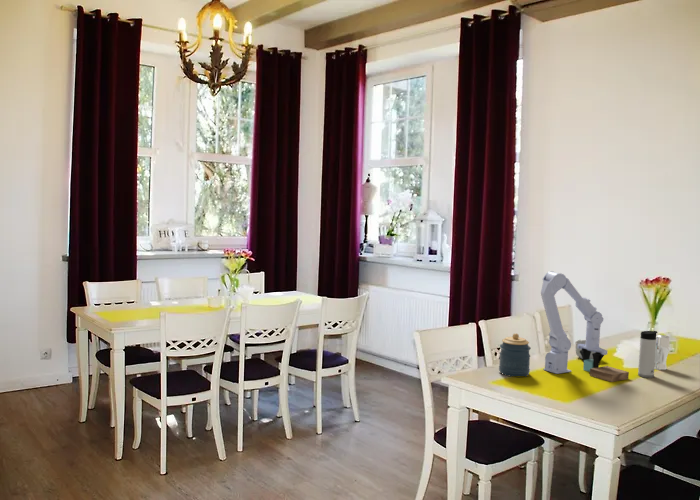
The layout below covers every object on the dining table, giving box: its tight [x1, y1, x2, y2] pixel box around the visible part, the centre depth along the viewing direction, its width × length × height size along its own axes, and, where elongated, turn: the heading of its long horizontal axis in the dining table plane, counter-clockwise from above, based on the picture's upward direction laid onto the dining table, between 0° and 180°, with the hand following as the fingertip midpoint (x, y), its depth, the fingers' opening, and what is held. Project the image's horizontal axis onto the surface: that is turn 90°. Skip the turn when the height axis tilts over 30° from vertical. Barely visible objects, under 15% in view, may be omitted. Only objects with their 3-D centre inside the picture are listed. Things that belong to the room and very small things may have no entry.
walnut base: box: [589, 365, 630, 383], centre depth 275 cm, size 11×11×3 cm
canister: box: [498, 333, 531, 377], centre depth 276 cm, size 13×13×18 cm
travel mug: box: [637, 330, 658, 379], centre depth 277 cm, size 6×7×20 cm
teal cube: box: [582, 359, 594, 373], centre depth 285 cm, size 4×4×4 cm
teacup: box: [575, 339, 596, 360], centre depth 310 cm, size 14×11×8 cm
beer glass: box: [654, 334, 670, 371], centre depth 292 cm, size 7×7×15 cm
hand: (591, 367), depth 285 cm, fingers closed on teal cube, 4 cm apart
